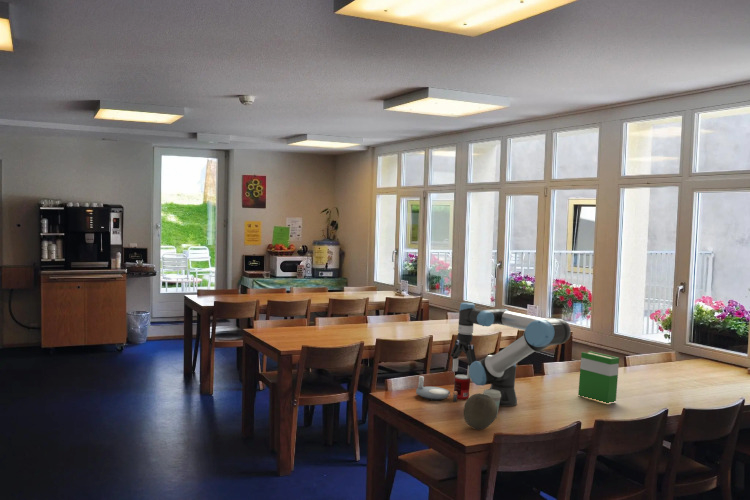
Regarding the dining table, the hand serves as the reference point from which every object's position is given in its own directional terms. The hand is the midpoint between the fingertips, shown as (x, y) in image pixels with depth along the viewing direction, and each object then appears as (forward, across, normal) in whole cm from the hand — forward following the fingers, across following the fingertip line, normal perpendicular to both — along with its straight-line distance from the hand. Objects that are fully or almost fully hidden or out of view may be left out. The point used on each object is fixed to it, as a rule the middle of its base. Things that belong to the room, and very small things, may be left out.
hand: (462, 374), depth 328 cm
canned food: (+12, 0, 0) cm, 12 cm away
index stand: (+12, 0, -14) cm, 18 cm away
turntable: (+10, -3, -15) cm, 18 cm away
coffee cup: (+12, +32, -4) cm, 34 cm away
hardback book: (+12, +21, +72) cm, 76 cm away
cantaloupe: (+12, +45, -20) cm, 50 cm away
